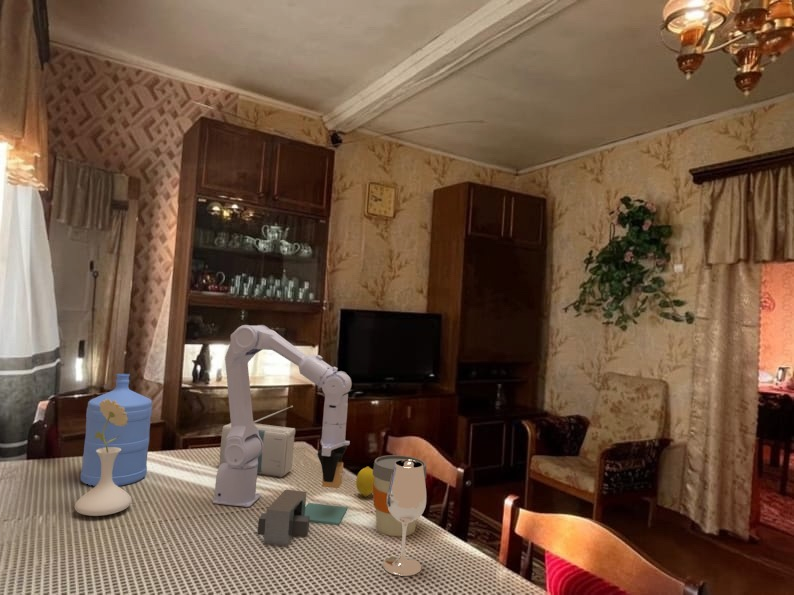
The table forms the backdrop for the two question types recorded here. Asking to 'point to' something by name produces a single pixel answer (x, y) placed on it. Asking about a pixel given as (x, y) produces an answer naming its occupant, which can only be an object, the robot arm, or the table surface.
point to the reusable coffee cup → (380, 489)
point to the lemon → (365, 481)
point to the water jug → (130, 438)
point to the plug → (335, 477)
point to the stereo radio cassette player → (270, 448)
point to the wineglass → (405, 509)
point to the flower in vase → (106, 472)
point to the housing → (283, 517)
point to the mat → (325, 513)
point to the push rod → (298, 525)
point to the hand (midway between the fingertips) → (330, 478)
